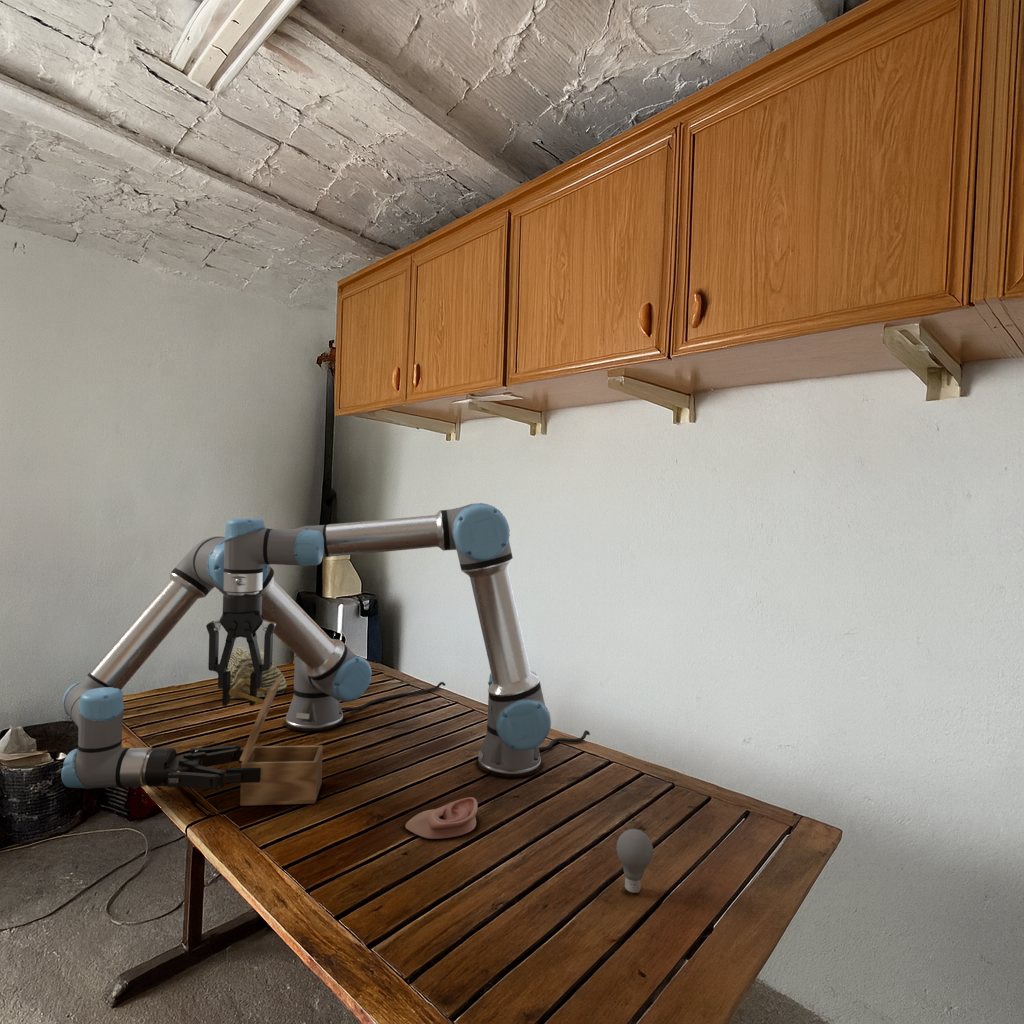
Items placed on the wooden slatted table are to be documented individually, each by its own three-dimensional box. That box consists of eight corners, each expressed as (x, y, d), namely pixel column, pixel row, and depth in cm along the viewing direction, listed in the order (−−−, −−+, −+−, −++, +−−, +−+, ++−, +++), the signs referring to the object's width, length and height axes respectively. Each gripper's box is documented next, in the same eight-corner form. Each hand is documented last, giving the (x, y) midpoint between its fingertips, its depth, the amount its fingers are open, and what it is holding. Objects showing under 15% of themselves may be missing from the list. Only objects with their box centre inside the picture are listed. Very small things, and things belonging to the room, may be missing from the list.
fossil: (218, 695, 195) (220, 647, 195) (278, 685, 208) (279, 640, 207) (228, 703, 189) (230, 653, 188) (289, 692, 201) (290, 645, 201)
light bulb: (610, 879, 108) (613, 822, 108) (644, 879, 109) (647, 822, 109) (619, 902, 102) (622, 840, 102) (655, 901, 103) (658, 840, 103)
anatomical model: (399, 813, 120) (420, 787, 131) (398, 834, 120) (419, 806, 131) (467, 823, 117) (482, 796, 128) (466, 845, 117) (481, 815, 128)
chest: (321, 784, 140) (322, 745, 139) (315, 803, 131) (316, 762, 131) (251, 785, 137) (252, 746, 137) (239, 805, 128) (241, 763, 128)
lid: (282, 678, 138) (245, 665, 137) (272, 690, 129) (233, 677, 128) (254, 744, 137) (217, 732, 136) (243, 762, 128) (204, 749, 127)
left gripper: (170, 763, 141) (276, 761, 144) (126, 811, 119) (251, 807, 123) (171, 729, 141) (277, 728, 144) (127, 771, 119) (253, 769, 123)
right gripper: (191, 594, 127) (188, 710, 127) (283, 595, 129) (280, 709, 130) (203, 589, 134) (200, 698, 135) (290, 590, 137) (287, 697, 137)
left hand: (265, 765), depth 133 cm, fingers closed on chest, 9 cm apart
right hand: (239, 703), depth 132 cm, fingers open, 5 cm apart
